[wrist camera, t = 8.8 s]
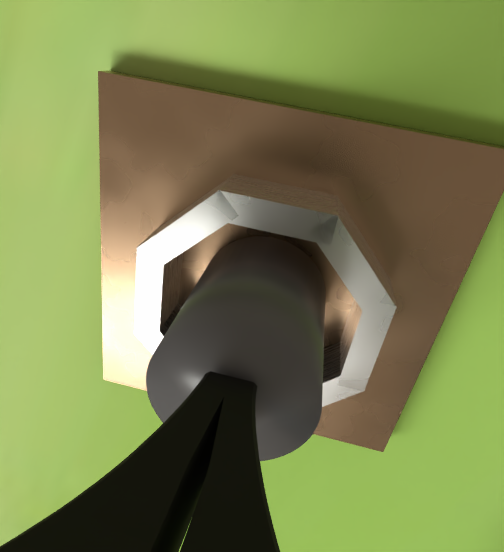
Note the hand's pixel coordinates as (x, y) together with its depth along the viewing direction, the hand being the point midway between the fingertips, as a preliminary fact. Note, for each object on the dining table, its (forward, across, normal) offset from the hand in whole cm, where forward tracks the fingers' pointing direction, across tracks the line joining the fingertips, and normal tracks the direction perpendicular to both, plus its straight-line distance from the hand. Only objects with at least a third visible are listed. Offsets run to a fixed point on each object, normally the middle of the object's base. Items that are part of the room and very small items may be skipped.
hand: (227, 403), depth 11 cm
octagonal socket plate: (+7, 0, 0) cm, 7 cm away
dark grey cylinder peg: (+6, 0, 0) cm, 6 cm away
